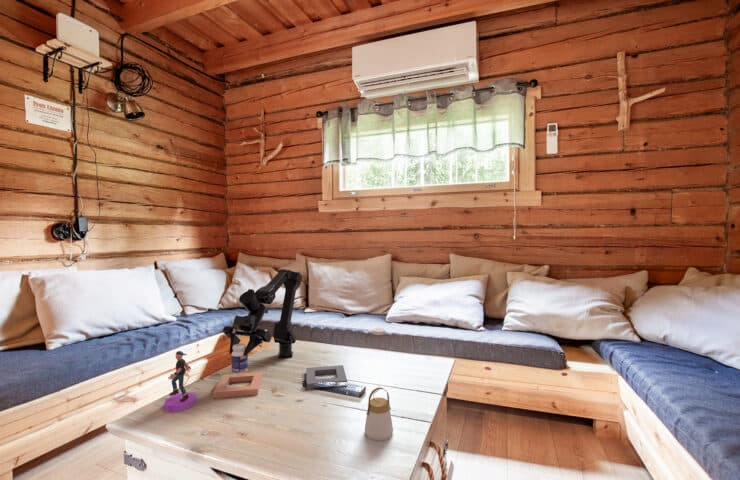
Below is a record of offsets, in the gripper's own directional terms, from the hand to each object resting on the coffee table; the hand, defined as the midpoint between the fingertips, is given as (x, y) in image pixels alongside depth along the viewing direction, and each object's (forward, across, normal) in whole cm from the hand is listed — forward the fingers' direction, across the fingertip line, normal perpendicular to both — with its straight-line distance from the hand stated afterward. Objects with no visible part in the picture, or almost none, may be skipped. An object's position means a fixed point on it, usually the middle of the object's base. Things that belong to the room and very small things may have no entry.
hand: (237, 354), depth 129 cm
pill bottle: (+4, 0, +6) cm, 7 cm away
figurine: (+20, -11, -2) cm, 23 cm away
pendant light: (+18, +57, 0) cm, 60 cm away
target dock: (+8, 0, +10) cm, 13 cm away
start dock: (-3, +28, +21) cm, 35 cm away
